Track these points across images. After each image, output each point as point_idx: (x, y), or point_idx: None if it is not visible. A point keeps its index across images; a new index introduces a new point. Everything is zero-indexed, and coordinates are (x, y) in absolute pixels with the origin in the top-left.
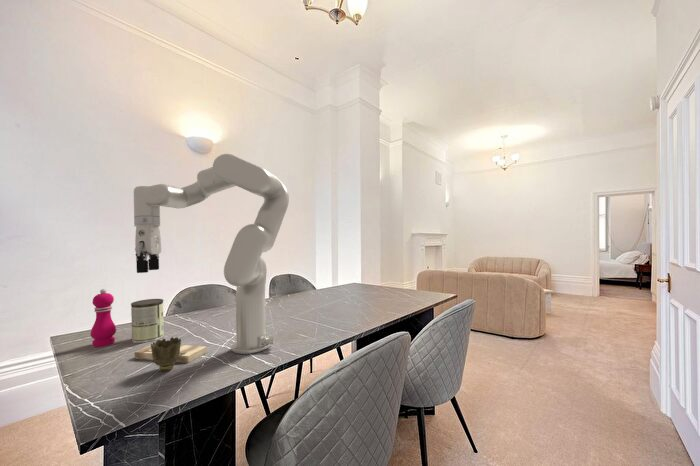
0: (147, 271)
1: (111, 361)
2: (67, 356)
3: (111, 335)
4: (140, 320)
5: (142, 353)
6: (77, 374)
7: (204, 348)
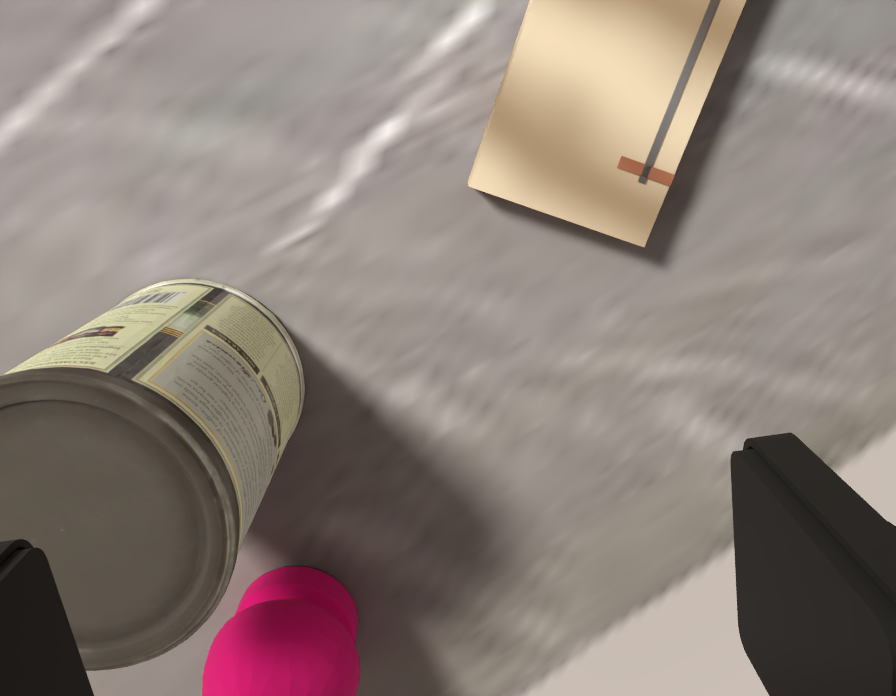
0: (789, 438)
1: (653, 363)
2: (503, 676)
3: (299, 601)
4: (268, 449)
5: (672, 177)
6: (818, 431)
7: None
